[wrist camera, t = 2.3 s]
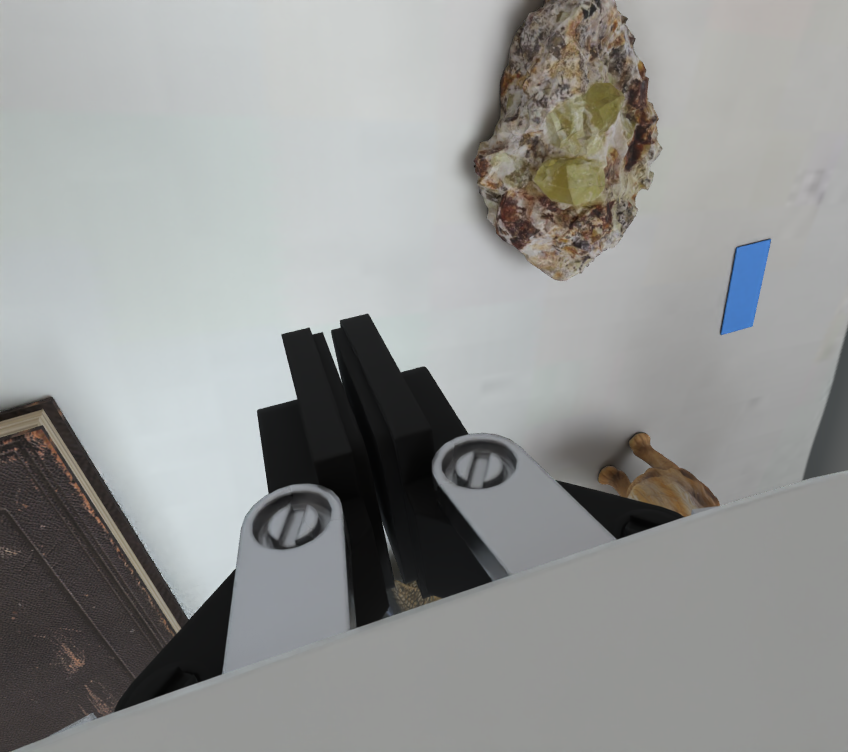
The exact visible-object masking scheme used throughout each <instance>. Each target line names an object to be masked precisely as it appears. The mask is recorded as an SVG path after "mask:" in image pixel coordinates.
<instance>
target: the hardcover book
mask: <svg viewBox="0 0 848 752" xmlns="http://www.w3.org/2000/svg"><path fill="white" fill-rule="evenodd" d="M188 621H189V620H188V618H187V617H186V615H185V613H184V612H183V610H182V609H181V607H180V605H179V604H178V602H177V600H176V599H175V597H174V595H173V594H172V592H171V591H170V589H169V587H168V586H167V584H166V582H165V581H164V579H163V577H162V576H161V574H160V573H159V571H158V569H157V568H156V566H155V564H154V563H153V561H152V559H151V558H150V556H149V555H148V553H147V551H146V550H145V548H144V546H143V545H142V543H141V541H140V540H139V538H138V537H137V535H136V533H135V532H134V530H133V528H132V527H131V525H130V523H129V522H128V520H127V519H126V517H125V515H124V514H123V512H122V510H121V509H120V507H119V505H118V504H117V502H116V501H115V499H114V497H113V496H112V494H111V492H110V491H109V489H108V487H107V486H106V484H105V483H104V481H103V479H102V478H101V476H100V474H99V473H98V471H97V469H96V468H95V466H94V465H93V463H92V461H91V460H90V458H89V456H88V455H87V453H86V451H85V450H84V448H83V447H82V445H81V443H80V442H79V440H78V438H77V437H76V435H75V433H74V432H73V430H72V429H71V427H70V425H69V424H68V422H67V420H66V419H65V417H64V415H63V414H62V412H61V411H60V409H59V407H58V406H57V404H56V402H55V401H54V399H53V397H52V398H48V399H45V400H41V401H38V402H34V403H31V404H27V405H24V406H20V407H17V408H13V409H9V410H6V411H2V412H0V752H11V751H13V750H16V749H19V748H21V747H24V746H26V745H29V744H31V743H34V742H37V741H39V740H42V739H44V738H47V737H49V736H51V735H52V734H54V733H56V732H58V731H60V730H62V729H63V728H65V727H67V726H69V725H71V724H73V723H75V722H76V721H78V720H80V719H82V718H84V717H86V716H87V715H89V714H91V713H94V715H95V716H96V718H97V719H98V718H101V717H103V716H106V715H108V714H110V713H112V712H114V710H115V708H116V705H117V703H118V701H119V699H120V698H121V697H122V695H123V694H124V693H125V691H126V690H127V689H128V687H129V686H130V685H131V683H132V682H133V681H134V680H135V679H136V678H137V677H138V676H139V674H140V673H141V672H142V671H143V670H144V669H145V668H146V667H147V666H148V665H149V663H150V662H151V661H152V660H153V659H154V658H155V657H156V656H157V655H158V654H159V652H160V651H161V650H162V649H163V648H164V647H165V646H166V645H167V644H168V643H169V641H170V640H171V639H172V638H173V637H174V636H175V635H176V634H177V633H178V632H179V630H180V629H181V628H182V627H183V626H184V625H185V624H186V623H187V622H188Z"/></svg>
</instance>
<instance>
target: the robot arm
mask: <svg viewBox="0 0 848 752" xmlns="http://www.w3.org/2000/svg"><path fill="white" fill-rule="evenodd" d="M340 326H341V328H338V329H334V330H331V333H332V339H333V343H334V348H335V352H336V357H337V362H338V366H339V371H340V375H341V379H340V377H339V374H338V371H337V369H336V366H335V364H334V361H333V358H332V356H331V353H330V350H329V348H328V345H327V342H326V340H325V337H324V335H323V332H321V333H317V334H313V335H312V333H311V330H310V328H306V329H302V330H297V331H293V332H289V333H285V334H281V335H282V339H283V343H284V347H285V351H286V355H287V359H288V363H289V367H290V371H291V375H292V379H293V383H294V387H295V391H296V395H297V400H293V401H289V402H286V403H282V404H278V405H274V406H270V407H266V408H263V409H259V410H257V415H258V422H259V429H260V436H261V443H262V450H263V457H264V464H265V471H266V478H267V485H268V492H269V494H268V495H266V496H264V497H263V498H262V499H261V500H259V501H258V502H257V503H256V504H255V505H253V507H252V508H251V509H250V511H249V512H248V513H247V515H246V516H245V518H244V521H243V524H242V527H241V533H240V541H239V548H238V556H237V564H236V569H235V570H234V571H233V572H232V573H231V574H230V575H229V576H228V578H227V579H226V580H225V581H224V582H223V583H222V584H221V585H220V586H219V587H218V589H217V590H216V591H215V592H214V593H213V594H212V595H211V596H210V597H209V598H208V600H207V601H206V602H205V603H204V604H203V605H202V606H201V607H200V608H199V610H198V611H197V612H196V613H195V614H194V615H193V616H192V617H191V618H190V619H189V621H188V622H187V623H186V624H185V625H184V626H183V627H182V628H181V629H180V630H179V632H178V633H177V634H176V635H175V636H174V637H173V638H172V639H171V640H170V641H169V643H168V644H167V645H166V646H165V647H164V648H163V649H162V650H161V651H160V652H159V654H158V655H157V656H156V657H155V658H154V659H153V660H152V661H151V662H150V663H149V665H148V666H147V667H146V668H145V669H144V670H143V671H142V672H141V673H140V674H139V676H138V677H137V678H136V679H135V680H134V681H133V682H132V683H131V685H130V686H129V687H128V689H127V690H126V691H125V693H124V694H123V695H122V697H121V698H120V699H119V701H118V703H117V705H116V708H115V710H114V712H112V713H110V714H108V715H106V716H103V717H101V718H98V719H97V718H96V716H95V715H94V713H91V714H89V715H87V716H86V717H84V718H82V719H80V720H78V721H76V722H75V723H73V724H71V725H69V726H67V727H65V728H63V729H62V730H60V731H58V732H56V733H54V734H52V735H51V736H49V737H47V738H44V739H42V740H39V741H37V742H34V743H31V744H29V745H26V746H24V747H21V748H19V749H16V750H13V751H11V752H848V471H843V472H838V473H834V474H829V475H824V476H819V477H815V478H811V479H807V480H804V481H800V482H797V483H794V484H790V485H787V486H783V487H780V488H776V489H773V490H769V491H766V492H762V493H759V494H756V495H752V496H749V497H745V498H742V499H739V500H736V501H733V502H730V503H727V504H724V505H721V506H715V507H707V508H699V509H692V513H691V515H690V516H687V517H684V516H682V515H681V514H679V513H678V512H675V511H672V510H670V509H667V508H664V507H661V506H657V505H653V504H649V503H645V502H641V501H637V500H633V499H629V498H625V497H621V496H617V495H613V494H609V493H605V492H601V491H597V490H593V489H589V488H585V487H581V486H577V485H573V484H569V483H565V482H561V481H557V480H554V479H553V478H552V477H551V476H550V475H549V474H548V473H547V472H546V471H545V470H544V469H543V468H542V467H541V466H540V465H539V464H538V463H537V462H536V461H535V460H534V459H533V458H531V457H530V456H529V455H528V454H527V453H526V452H525V451H524V450H523V449H522V448H521V447H520V446H519V445H517V444H516V443H515V442H513V441H512V440H510V439H508V438H505V437H502V436H500V435H496V434H488V433H476V434H468V432H467V431H466V429H465V428H464V426H463V425H462V423H461V421H460V420H459V418H458V417H457V415H456V413H455V412H454V410H453V409H452V407H451V406H450V404H449V402H448V401H447V399H446V398H445V396H444V394H443V393H442V391H441V390H440V388H439V387H438V385H437V383H436V382H435V380H434V379H433V377H432V375H431V374H430V372H429V371H428V369H427V368H426V367H420V368H416V369H412V370H408V371H404V372H400V370H399V368H398V367H397V365H396V363H395V361H394V359H393V358H392V356H391V354H390V352H389V350H388V349H387V347H386V345H385V343H384V341H383V339H382V338H381V336H380V334H379V332H378V330H377V329H376V327H375V325H374V323H373V321H372V320H371V318H370V316H369V314H364V315H360V316H356V317H352V318H348V319H343V320H340ZM341 380H342V382H341ZM342 384H343V385H342ZM382 522H383V524H382ZM383 525H384V528H385V531H386V534H387V536H388V539H389V542H390V545H391V548H392V550H393V553H394V556H395V559H396V562H397V564H398V567H399V570H400V573H401V576H402V578H403V581H404V583H405V584H406V583H409V582H412V581H415V580H416V583H417V585H418V588H419V591H420V593H421V596H422V599H425V598H428V597H431V596H436V597H439V598H442V599H440V600H437V601H434V602H431V603H428V604H425V605H422V606H419V607H417V608H414V609H411V610H408V611H405V612H402V613H399V614H396V615H393V616H390V617H387V618H384V619H382V618H383V616H384V615H385V613H386V611H388V608H389V607H390V605H389V600H388V596H387V591H386V590H388V589H391V588H394V587H395V582H394V577H393V572H392V568H391V563H390V558H389V553H388V548H387V543H386V539H385V534H384V529H383Z"/></svg>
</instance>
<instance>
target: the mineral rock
mask: <svg viewBox="0 0 848 752" xmlns="http://www.w3.org/2000/svg"><path fill="white" fill-rule="evenodd" d="M627 19H628V18H626V17H624V16H622V15H621V13H620V12H618V10H617V6H616V3H615V0H545V2H544V6H543V7H542V8H539V9H538V10H537V11H534V12H530V13H529V15H528V17H527V19H525V21H524V23H523V25H522V26H521V27H520V28H519V29H518V30H517V32H516V34H515V36H514V38H513V41H512V44H511V47H510V52H509V64H508V66H507V67H506V68H505V70H504V72H503V75H502V79H501V82H500V112H501V116H500V118H499V121H498V123H497V125H496V127H495V130H494V134H493V136H492V137H491V139H490V140H488V141H484V142H480V145H479V148H478V153H477V156H476V158H475V160H474V162H475V164H476V165H475V166H474V167H475V173H476V174H477V175H478V182H477V185H478V186H479V193H480V194H481V195H482V196H483V199H484V202H485V204H486V205H487V207H488V211H489V213H488V216H487V219H488V220H489V221H490V222H491V223H492V224H493V226H494V227H495V229H496V233H497V234H498V235H499V236H500V238H501V239H502V240H503V241H505V242H507V243H509V244H511V245H513V246H514V247H516V248H517V249H518V250H519V251H520V252H521V253H522V254H524V256H525V257H526V259H527V261H529V262H530V263H531V264H532V265H534V266H536V267H537V268H539V269H540V270H541V271H543V272H544V273H545V274H547V275H548V276H550V277H551V278H553V279H555V280H559V281H565V280H568V279H570V278H571V277H573V276H575V275H577V274H579V273H582V271H583V269H584V267H585V266H586V267H588V266H589V262H593V261H594V258H595V257H597V256H598V255H600V253H601V252H603V251H605V250H607V248H613V247H615V246H616V245H617V244H618V242H619V241H620V240H621V238H622V237H623V233H624V232H625V231H626V229H627V228H628V226H629V225H630V224H631V222H632V221H633V219H634V217H635V216H636V213H637V211H638V209H637V208H636V207H635V197H636V195H637V193H638V192H639V191H640V190H641V189H646V190H648V189H649V187H650V185H651V183H652V180H653V175H654V173H653V172H651V171H650V164H652V163H653V162H654V161H655V160H656V158H657V157H658V156H659V154H660V152H661V150H662V147H661V146H660V145H659V143H658V141H657V136H658V132H657V127H656V123H657V121H658V119H659V118H658V116H657V114H656V112H655V110H654V108H653V105H652V103H650V102H648V98H647V89H648V81H649V78H647V77H646V76H645V73H646V69H645V67H644V64H643V63H642V62H641V61H640V60H639V58H638V57H637V56H636V54H635V52H634V48H633V44H634V42H635V39H636V38H634V35H633V34H632V33H631V32H630V31H629V29H628V27H627V26H626V25H625V23H626V21H627Z"/></svg>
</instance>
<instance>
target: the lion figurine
mask: <svg viewBox="0 0 848 752" xmlns="http://www.w3.org/2000/svg"><path fill="white" fill-rule="evenodd" d="M629 445H630V448H631V449H632V450H633V453H634V455H636V456H637V457H639V458H640V459H642V460H644V461H645V462H646V463H648V464H649V465H650V466H651V467H652V468H649V469H647V470H646V472H645V473H644V474H641V475H640V476H638V477H637V478H636V479H635V480H634V481H633V482H632V483H630V481H629V479H628V477H627V476H626V474H625V473H624V472H623V471H621V470H618V469H616V468H615V467H613V466H607V467H605V468H603V469H602V470H601V472H600V474H599V478H598V481H599V483H601V484H608V485H611V486H612V487H613V488H614V489H615V490H616V491H617V492H618V493H619V495H620V496H621V497H625V498H629V499H633V500H637V501H641V502H645V503H649V504H653V505H657V506H661V507H664V508H667V509H670V510H672V511H675V512H678V513H679V514H681V515H682V516H684V517H687V516H690V515H691V513H692V509H699V508H707V507H715V506H720V504H719V501H718V499H717V498H716V497H715V496H714V495H713V493H712V492H711V491H710V490H709V488H708V487H706V486H705V485H704V484H703V483H702V482H700V481H699V480H698V479H697V478H696V477H695V476H694V475H692V474H691V473H690V472H688V471H687V470H685V469H683V468H679V467H678V466H677V465H676V464H674V463H673V462H672V461H670V460H669V459H667V458H666V457H664V456H663V455H662V454H660V453H659V452H657V451H655V450H654V449H653V448H652V447H651V445H650V437H649V435H647V434H646V433H639V434H636V435H635V436H634V437H633V438H632V439H631V440H630V441H629Z"/></svg>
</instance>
